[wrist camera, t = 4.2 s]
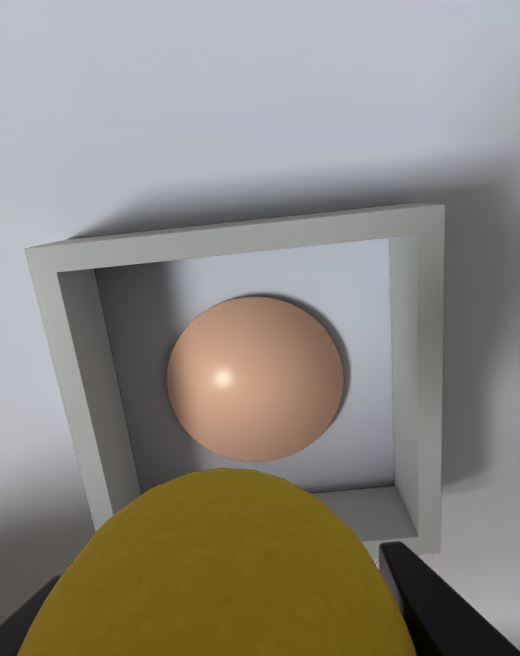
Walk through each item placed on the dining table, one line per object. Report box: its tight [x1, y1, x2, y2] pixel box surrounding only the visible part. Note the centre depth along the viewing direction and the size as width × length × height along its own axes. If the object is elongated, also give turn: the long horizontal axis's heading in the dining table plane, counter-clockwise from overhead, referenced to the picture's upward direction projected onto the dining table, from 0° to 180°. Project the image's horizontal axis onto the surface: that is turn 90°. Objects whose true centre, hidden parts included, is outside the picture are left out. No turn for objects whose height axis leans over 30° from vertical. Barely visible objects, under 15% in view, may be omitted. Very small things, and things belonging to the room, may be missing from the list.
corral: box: [24, 203, 445, 558], centre depth 16 cm, size 13×13×3 cm
